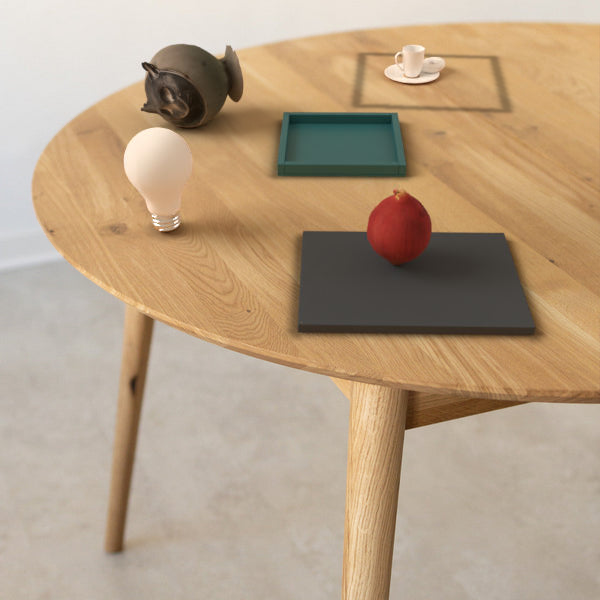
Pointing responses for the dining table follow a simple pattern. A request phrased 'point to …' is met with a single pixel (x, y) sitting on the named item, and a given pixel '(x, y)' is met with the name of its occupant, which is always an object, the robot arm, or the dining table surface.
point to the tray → (341, 145)
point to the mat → (411, 287)
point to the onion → (399, 228)
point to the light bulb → (159, 173)
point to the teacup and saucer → (415, 66)
